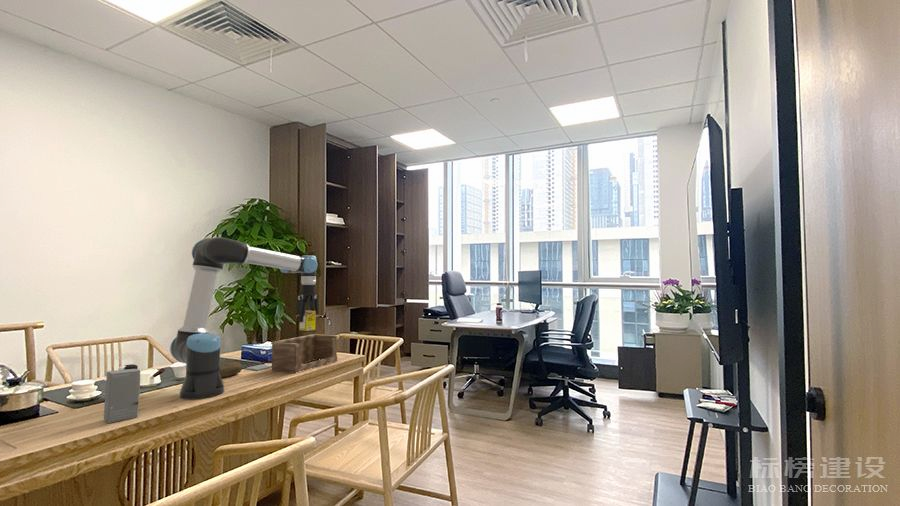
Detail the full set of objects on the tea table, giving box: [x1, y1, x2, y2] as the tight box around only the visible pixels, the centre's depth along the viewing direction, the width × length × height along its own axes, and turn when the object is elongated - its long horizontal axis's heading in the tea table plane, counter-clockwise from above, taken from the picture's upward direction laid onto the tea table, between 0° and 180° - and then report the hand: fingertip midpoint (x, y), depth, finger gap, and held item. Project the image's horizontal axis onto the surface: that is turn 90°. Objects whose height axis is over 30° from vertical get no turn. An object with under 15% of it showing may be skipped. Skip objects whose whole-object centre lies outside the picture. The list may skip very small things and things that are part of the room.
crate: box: [270, 333, 339, 374], centre depth 216 cm, size 31×16×14 cm, turn 155°
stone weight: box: [219, 361, 243, 379], centre depth 192 cm, size 15×7×7 cm, turn 159°
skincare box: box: [103, 368, 141, 424], centre depth 137 cm, size 8×7×16 cm
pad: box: [245, 364, 272, 372], centre depth 210 cm, size 9×9×1 cm
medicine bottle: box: [117, 363, 141, 396], centre depth 162 cm, size 7×7×12 cm
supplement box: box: [298, 309, 317, 333], centre depth 218 cm, size 6×6×11 cm
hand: (307, 327), depth 217 cm, fingers closed on supplement box, 6 cm apart
